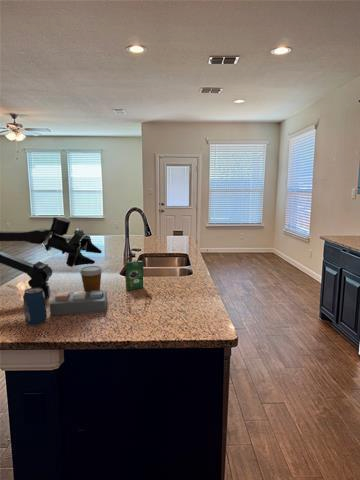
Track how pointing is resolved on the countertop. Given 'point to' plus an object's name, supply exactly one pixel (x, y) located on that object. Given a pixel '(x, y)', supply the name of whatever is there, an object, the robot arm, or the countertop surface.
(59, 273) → the countertop surface
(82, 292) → the pale key
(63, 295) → the rust key
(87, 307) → the key panel
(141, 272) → the coffee box
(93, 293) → the slate key
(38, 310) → the soda can
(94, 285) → the disposable coffee cup
